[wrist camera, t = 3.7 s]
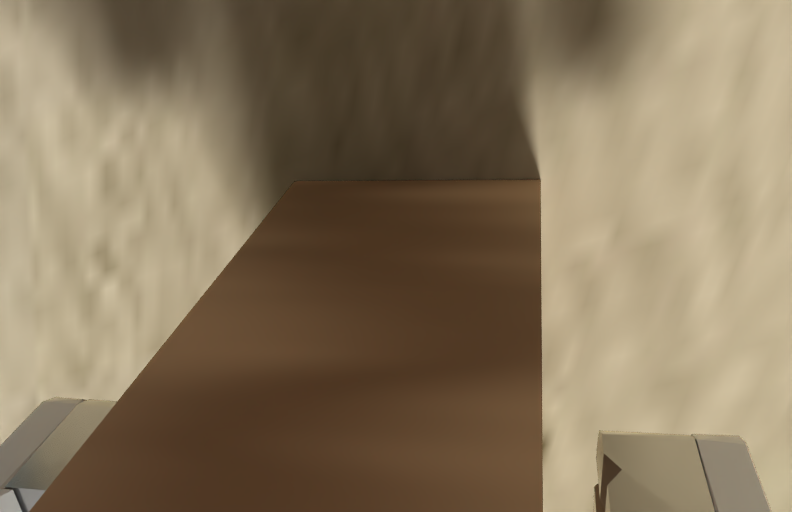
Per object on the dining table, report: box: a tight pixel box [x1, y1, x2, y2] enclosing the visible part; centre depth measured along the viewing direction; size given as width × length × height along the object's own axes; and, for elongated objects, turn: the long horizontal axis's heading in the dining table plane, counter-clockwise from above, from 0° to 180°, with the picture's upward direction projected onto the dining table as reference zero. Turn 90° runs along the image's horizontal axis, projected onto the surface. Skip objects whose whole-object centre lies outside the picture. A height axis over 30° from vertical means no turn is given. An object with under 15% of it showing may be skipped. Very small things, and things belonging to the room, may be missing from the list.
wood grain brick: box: [29, 180, 543, 512], centre depth 8 cm, size 4×4×10 cm
